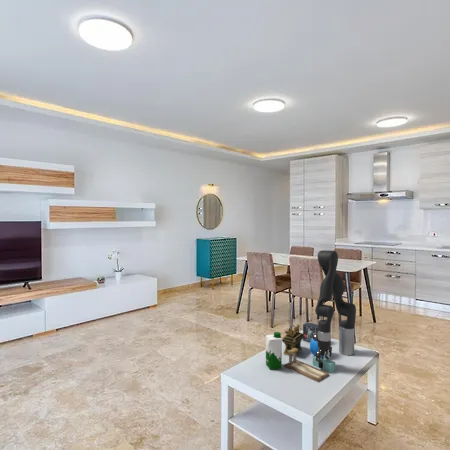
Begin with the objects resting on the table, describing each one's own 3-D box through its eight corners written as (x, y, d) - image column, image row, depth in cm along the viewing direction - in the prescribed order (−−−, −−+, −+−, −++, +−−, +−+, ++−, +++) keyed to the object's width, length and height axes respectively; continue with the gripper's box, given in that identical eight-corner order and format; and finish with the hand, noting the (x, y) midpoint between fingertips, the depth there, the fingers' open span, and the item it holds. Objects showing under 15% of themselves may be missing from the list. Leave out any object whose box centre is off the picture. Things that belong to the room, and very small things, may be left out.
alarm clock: (317, 360, 197) (317, 336, 197) (309, 357, 202) (309, 333, 201) (328, 354, 206) (329, 331, 205) (320, 351, 210) (320, 329, 210)
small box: (302, 340, 229) (302, 324, 228) (306, 337, 234) (306, 321, 234) (319, 345, 220) (320, 328, 220) (323, 342, 225) (324, 325, 225)
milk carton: (283, 369, 185) (283, 335, 185) (268, 370, 183) (269, 336, 183) (277, 362, 194) (278, 330, 193) (263, 364, 192) (264, 331, 191)
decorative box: (291, 346, 219) (291, 317, 218) (304, 349, 213) (305, 320, 213) (278, 356, 203) (278, 325, 202) (292, 360, 197) (292, 329, 196)
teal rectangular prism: (317, 363, 194) (317, 355, 194) (335, 370, 185) (335, 362, 185) (312, 365, 191) (312, 357, 190) (330, 373, 181) (330, 364, 181)
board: (295, 361, 196) (295, 346, 196) (328, 375, 178) (329, 359, 178) (284, 366, 189) (284, 351, 188) (317, 382, 171) (318, 365, 171)
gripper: (325, 333, 195) (324, 360, 195) (311, 339, 185) (311, 367, 186) (336, 337, 189) (336, 365, 189) (323, 343, 180) (322, 372, 180)
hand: (323, 366), depth 188 cm, fingers open, 6 cm apart
